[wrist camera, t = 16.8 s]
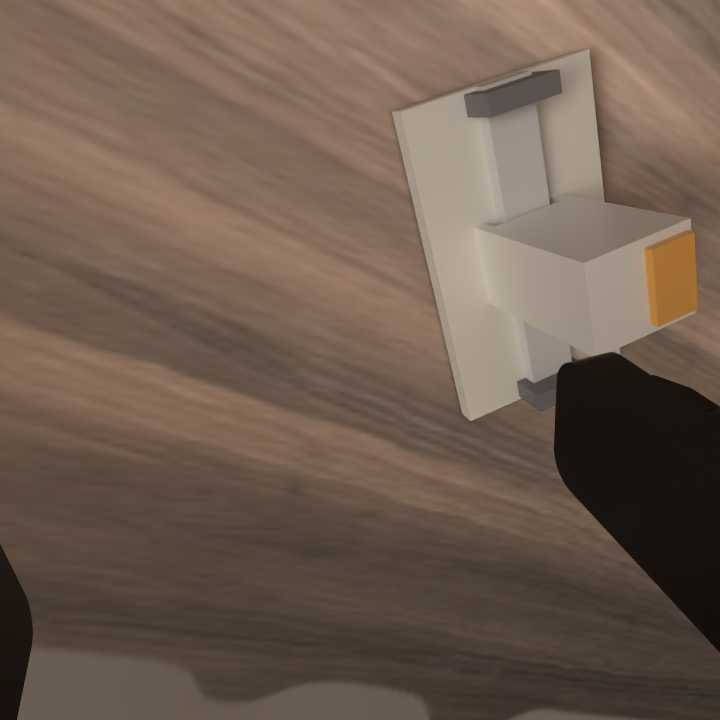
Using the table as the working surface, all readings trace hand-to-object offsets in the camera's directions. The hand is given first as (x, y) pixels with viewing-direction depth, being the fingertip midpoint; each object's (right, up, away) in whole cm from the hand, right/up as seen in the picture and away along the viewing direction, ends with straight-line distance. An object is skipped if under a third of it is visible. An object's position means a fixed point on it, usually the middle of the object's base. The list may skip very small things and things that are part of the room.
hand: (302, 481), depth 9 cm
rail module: (+11, +8, +31) cm, 34 cm away
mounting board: (+11, +9, +32) cm, 35 cm away
